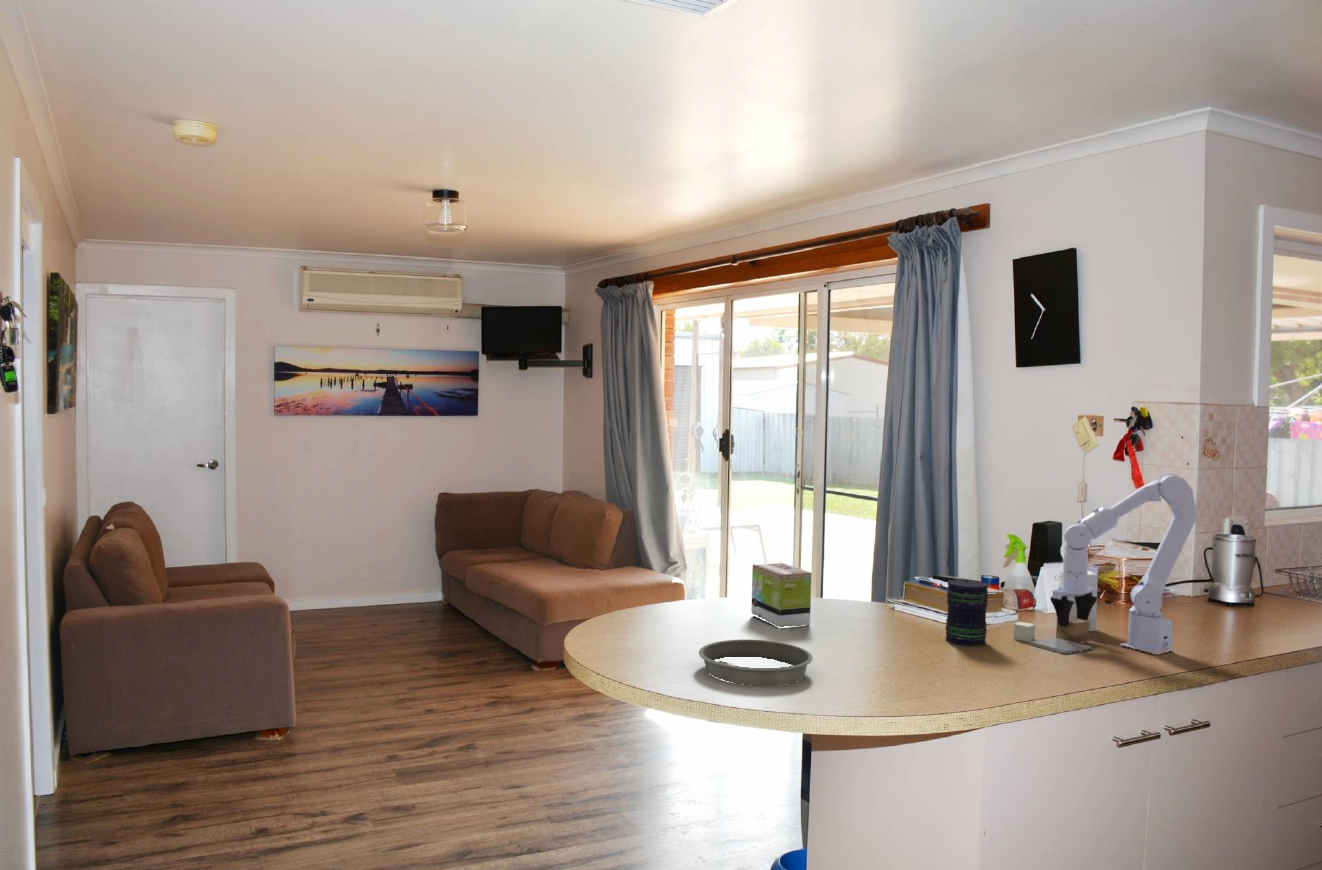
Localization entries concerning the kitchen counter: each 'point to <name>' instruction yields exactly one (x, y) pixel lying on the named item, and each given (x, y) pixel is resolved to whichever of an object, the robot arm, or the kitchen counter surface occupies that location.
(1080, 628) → the walnut block
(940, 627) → the kitchen counter surface
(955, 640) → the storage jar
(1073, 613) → the skincare box
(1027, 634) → the sage block
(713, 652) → the cake pan
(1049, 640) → the coaster
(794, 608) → the tea box
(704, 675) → the kitchen counter surface
